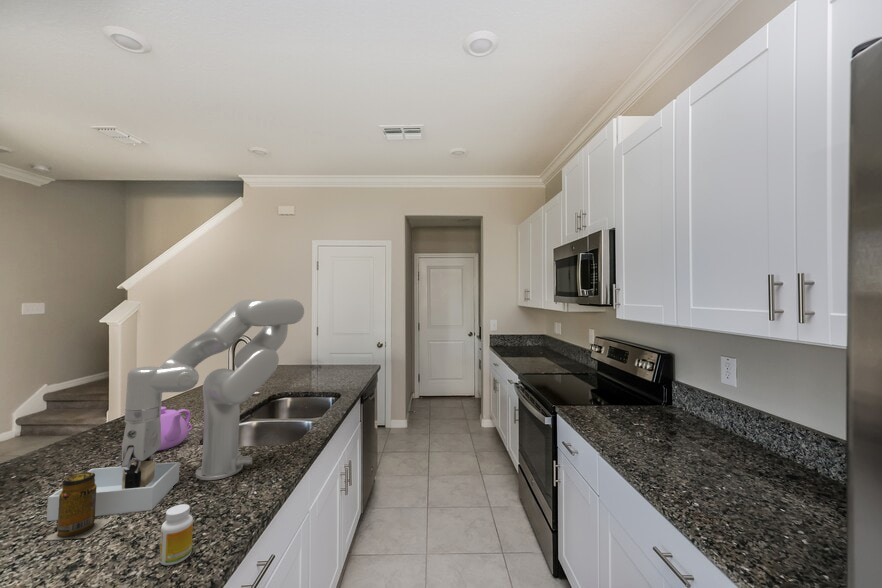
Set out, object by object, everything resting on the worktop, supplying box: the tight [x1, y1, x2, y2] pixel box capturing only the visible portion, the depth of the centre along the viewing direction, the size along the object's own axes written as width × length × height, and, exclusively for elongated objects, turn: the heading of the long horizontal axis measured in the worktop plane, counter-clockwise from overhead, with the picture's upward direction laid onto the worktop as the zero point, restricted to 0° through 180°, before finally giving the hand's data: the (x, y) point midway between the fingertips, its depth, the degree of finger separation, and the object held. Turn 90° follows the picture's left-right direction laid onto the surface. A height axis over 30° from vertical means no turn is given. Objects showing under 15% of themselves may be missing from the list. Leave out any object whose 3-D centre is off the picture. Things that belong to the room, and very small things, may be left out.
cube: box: [122, 459, 156, 489], centre depth 96 cm, size 5×5×5 cm
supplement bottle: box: [159, 503, 194, 566], centre depth 74 cm, size 5×5×10 cm
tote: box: [46, 461, 181, 522], centre depth 95 cm, size 21×15×6 cm
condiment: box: [43, 471, 113, 541], centre depth 82 cm, size 7×8×12 cm
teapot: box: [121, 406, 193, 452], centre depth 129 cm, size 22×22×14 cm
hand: (138, 481), depth 96 cm, fingers closed on cube, 5 cm apart
